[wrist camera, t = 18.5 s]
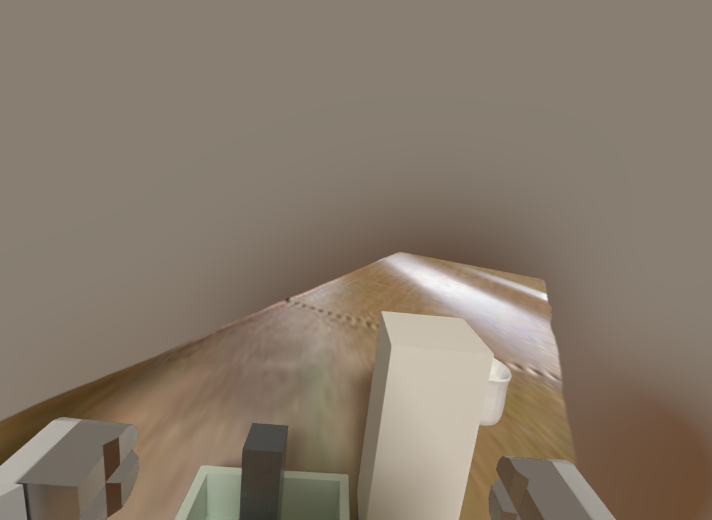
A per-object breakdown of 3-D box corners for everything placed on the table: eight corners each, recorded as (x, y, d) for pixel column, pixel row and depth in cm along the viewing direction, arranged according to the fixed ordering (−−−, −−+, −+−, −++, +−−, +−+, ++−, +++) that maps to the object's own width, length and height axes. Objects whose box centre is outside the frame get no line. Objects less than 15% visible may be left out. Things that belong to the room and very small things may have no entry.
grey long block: (227, 448, 29) (243, 410, 34) (221, 611, 33) (236, 556, 37) (296, 453, 29) (303, 415, 34) (282, 613, 33) (290, 559, 38)
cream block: (360, 561, 39) (391, 345, 34) (356, 491, 48) (381, 311, 42) (448, 565, 40) (494, 354, 34) (429, 495, 49) (462, 318, 43)
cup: (466, 430, 63) (476, 380, 61) (441, 396, 73) (449, 352, 70) (512, 426, 65) (523, 379, 63) (482, 394, 75) (490, 352, 73)
